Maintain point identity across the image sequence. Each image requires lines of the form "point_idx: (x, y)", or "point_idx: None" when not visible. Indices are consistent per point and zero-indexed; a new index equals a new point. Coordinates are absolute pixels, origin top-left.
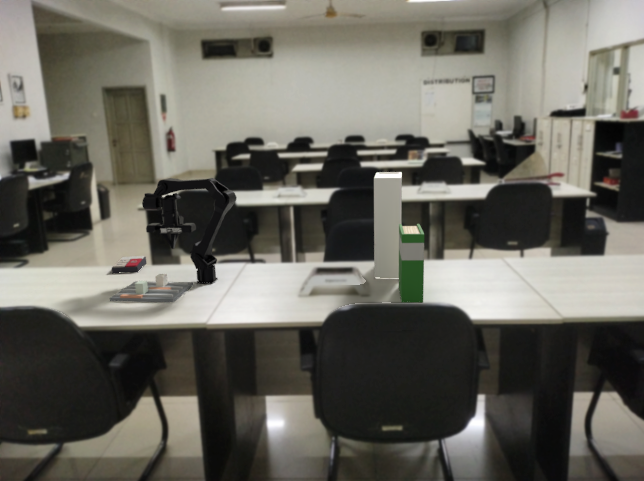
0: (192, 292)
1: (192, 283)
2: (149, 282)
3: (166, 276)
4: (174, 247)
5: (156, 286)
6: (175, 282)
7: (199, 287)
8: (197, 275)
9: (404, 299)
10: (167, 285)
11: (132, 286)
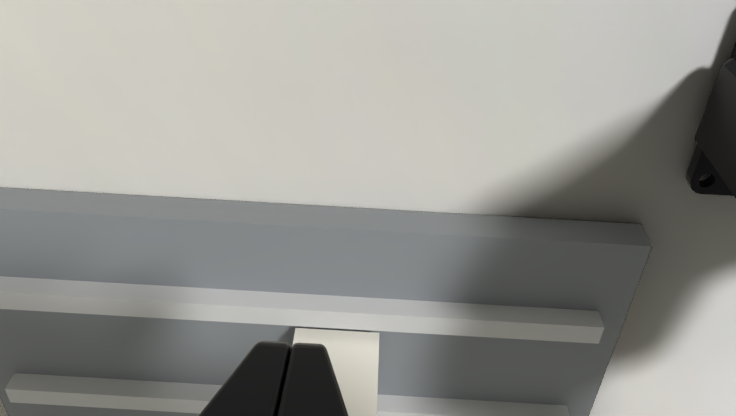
0: (652, 397)
1: (642, 260)
2: (161, 316)
3: (376, 412)
4: (332, 377)
5: None
6: (461, 323)
7: (715, 290)
8: (728, 182)
9: None
10: (381, 332)
11: (68, 404)
